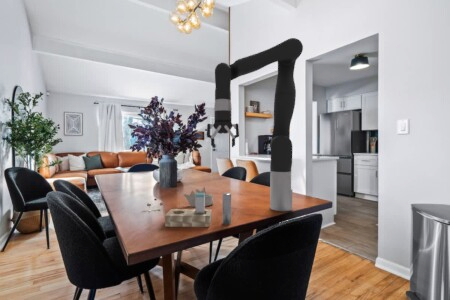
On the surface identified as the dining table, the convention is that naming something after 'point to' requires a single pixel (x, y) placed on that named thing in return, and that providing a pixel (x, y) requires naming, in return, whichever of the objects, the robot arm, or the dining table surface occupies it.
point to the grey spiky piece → (192, 197)
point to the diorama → (150, 205)
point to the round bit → (226, 208)
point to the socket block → (187, 218)
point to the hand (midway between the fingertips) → (223, 147)
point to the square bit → (200, 203)
